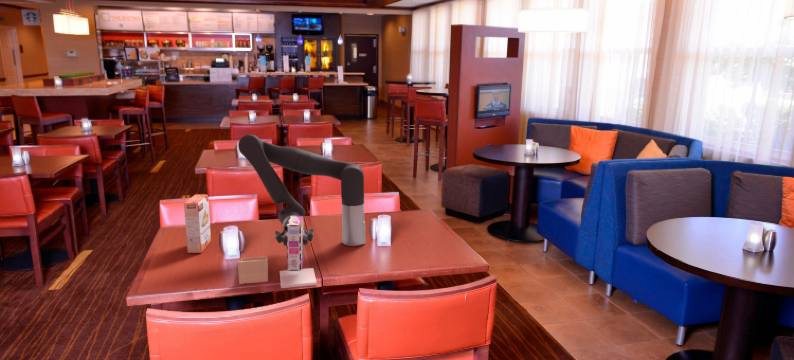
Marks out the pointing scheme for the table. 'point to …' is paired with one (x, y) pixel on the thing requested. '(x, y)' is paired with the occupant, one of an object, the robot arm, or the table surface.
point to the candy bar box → (295, 243)
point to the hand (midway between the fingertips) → (295, 243)
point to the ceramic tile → (297, 278)
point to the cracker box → (197, 223)
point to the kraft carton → (253, 270)
